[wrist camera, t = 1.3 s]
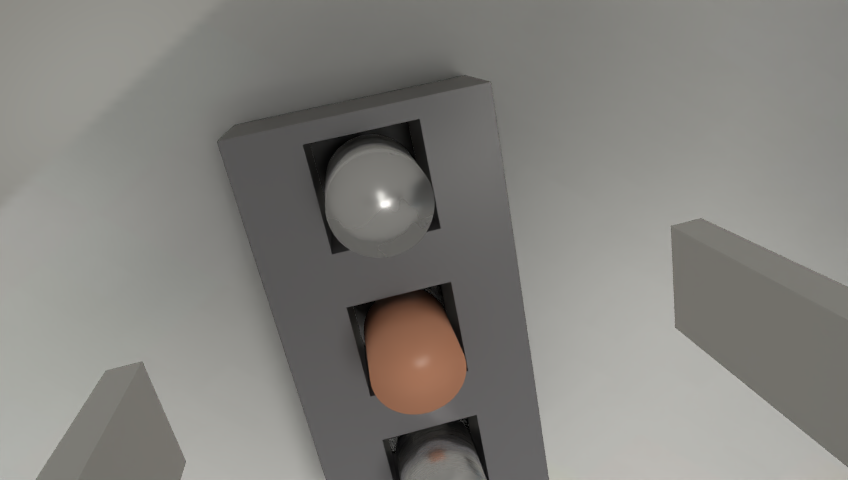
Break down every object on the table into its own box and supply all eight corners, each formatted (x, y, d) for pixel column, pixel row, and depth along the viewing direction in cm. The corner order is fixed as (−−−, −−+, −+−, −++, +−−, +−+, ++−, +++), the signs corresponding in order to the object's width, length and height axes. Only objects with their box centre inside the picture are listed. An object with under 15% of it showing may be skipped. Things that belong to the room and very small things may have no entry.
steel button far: (464, 406, 32) (485, 460, 28) (476, 466, 34) (498, 527, 30) (388, 426, 32) (397, 484, 28) (404, 487, 33) (415, 551, 29)
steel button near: (407, 125, 27) (423, 141, 22) (425, 213, 28) (443, 244, 24) (314, 145, 26) (312, 165, 22) (337, 234, 28) (339, 268, 24)
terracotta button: (439, 279, 29) (457, 318, 25) (453, 351, 31) (473, 400, 27) (354, 299, 29) (360, 343, 25) (373, 372, 31) (381, 424, 26)
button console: (465, 75, 30) (491, 82, 25) (522, 430, 38) (549, 484, 33) (234, 124, 29) (216, 141, 24) (343, 478, 37) (346, 542, 32)
